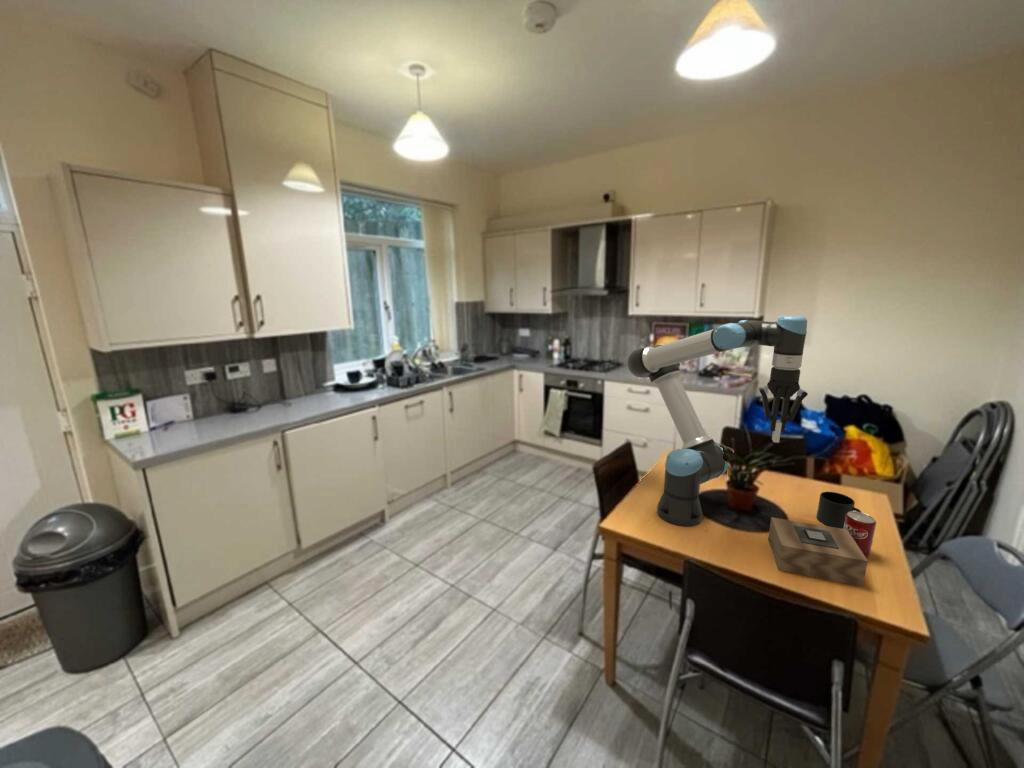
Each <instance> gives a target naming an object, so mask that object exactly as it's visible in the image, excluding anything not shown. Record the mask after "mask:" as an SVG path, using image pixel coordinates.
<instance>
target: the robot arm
mask: <svg viewBox="0 0 1024 768" xmlns="http://www.w3.org/2000/svg"><path fill="white" fill-rule="evenodd" d="M807 328H808V319H807V318H806V317H805V316H799V315H781V316H778V318H777V320H776V321H763V320H754V319H742V320H739V321H738V322H734V323H733V322H729V323H725V324H722V325H719V326H718V327H716V328H713V329H710V330H707V331H703V332H699V333H697V334H693V335H691V336H688V337H685V338H681V339H677V340H674V341H671V342H668V343H665V344H656V345H652V346H645V347H639V348H635V349H634V350H633V351H631V352H630V354H629V355H628V357H627V360H626V364H627V365H626V366H627V368H628V369H627V370H628V371H629V372H630V373H631V374H632V375H633V376H635V377H637V378H640V379H641V378H643V379H644V378H649V380H650V383H651V385H654V386H656V387H657V388H658V390H659V393H660V396H661V398H662V399H663V402H664V404H665V406H666V408H667V410H668V412H669V415H670V417H671V419H672V421H673V423H674V425H675V428H676V430H677V432H678V434H679V437H680V439H681V440H682V444H683V445H682V447H681V448H676V449H673V450H672V451H670V452H668V453H667V456H666V460H665V464H664V467H665V470H664V483H663V492H662V494H661V496H660V499H659V501H658V503H657V505H656V513H657V515H658V516H659V518H661V519H662V520H664V521H665V522H667V523H670V524H673V525H676V526H679V527H680V526H682V527H691V526H692V527H693V526H697V525H698V524H701V522H702V520H703V511H702V506H701V502H700V498H699V497H700V489H701V488H700V487H701V485H702V484H705V483H707V482H709V481H711V480H713V479H716V478H719V477H720V476H722V475H723V474H724V473H726V471H727V470H728V467H729V465H728V463H727V462H726V461H725V460H724V459H723V453H724V452H723V448H722V447H720V446H719V445H720V444H716V443H715V440H714V439H713V438H712V437H711V436H708V435H707V433H706V431H705V429H704V428H703V425H702V423H701V421H700V419H699V417H698V415H697V413H696V410H695V409H694V406H693V404H692V402H691V400H690V398H689V396H688V394H687V392H686V389H685V388H684V385H683V383H682V381H681V378H680V375H681V374H682V373H681V372H682V371H681V369H680V366H681V363H684V362H687V361H688V362H689V361H692V360H696V359H698V358H699V359H700V358H703V357H708V356H711V355H716V354H718V353H722V352H727V351H731V350H734V349H738V348H739V349H740V348H745V347H750V346H751V347H752V346H766V347H773V355H772V360H771V366H772V367H771V369H770V376H769V381H768V382H767V384H766V385H765V386H763V387H758V391H759V393H760V395H761V399H762V406H763V408H762V409H763V413H764V417H765V418H766V420H769V421H770V423H769V430H770V432H772V436H771V440H772V442H773V443H777V444H778V443H780V438H781V433H784V432H785V430H786V425H787V423H788V422H794V420H795V419H796V416H797V413H798V411H799V409H800V407H801V405H802V402H803V400H804V399H805V398H806V397H807V396H808V392H807V391H806V390H803V389H801V386H800V384H799V383H800V377H801V376H800V375H801V367H802V363H803V354H804V348H805V344H806V338H807V333H808V332H807V331H808V330H807ZM769 391H770V393H771V394H772V395H773V400H772V406H771V411H770V405H769V399H768V395H767V394H768V393H769ZM794 395H796V397H795V399H794V401H793V403H792V406H791V408H790V407H789V406H790V401H791V398H792V397H793V396H794ZM781 398H782V404H781V410H780V411H781V412H780V418H779V419H778V416H779V415H778V414H779V408H780V407H779V406H780V402H781ZM789 408H790V409H789ZM770 412H771V413H770Z"/></svg>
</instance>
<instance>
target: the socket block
mask: <svg viewBox="0 0 1024 768" xmlns="http://www.w3.org/2000/svg"><path fill="white" fill-rule="evenodd" d="M806 530H808V531H814V532H820V533H822V534H823V535H824V537H825V539H826V542H821V541H815V540H809V539H808V538H807V536H806ZM767 541H768V544H769V546H770V550H771V552H772V556H773V558H774V561H775V564H776V567H777V570H778V571H782V572H783V571H784V572H788V573H793V574H798V575H803V576H807V577H812V578H818V579H824V580H826V581H831V582H832V581H833V582H839V583H842V584H843V583H844V584H847V585H852V586H853V585H854V586H858V587H864V586H863V585H864V583H865V577H866V572H867V569H868V568H867V567H868V563H869V560H868V559H867V557H865V556H864V554H863V553H862V551H861V550H860V548H859V547H858V545H857V544H856V542H855V541H854V539H853V538H852V536H851V535H850V533H849V532H848V530H847V529H841V528H835V527H830V526H827V525H824V524H823V525H820V524H815V523H808V522H803V521H797V520H790V519H786V518H779V517H772V516H771V518H770V523H769V530H768V538H767Z"/></svg>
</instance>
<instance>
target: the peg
mask: <svg viewBox="0 0 1024 768" xmlns="http://www.w3.org/2000/svg"><path fill="white" fill-rule="evenodd" d="M806 536H807V538H808V539H809V540H815V541H821V542H826V539H825V537H824V535H823V534H822V533H820V532H814V531H808V530H806Z"/></svg>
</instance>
